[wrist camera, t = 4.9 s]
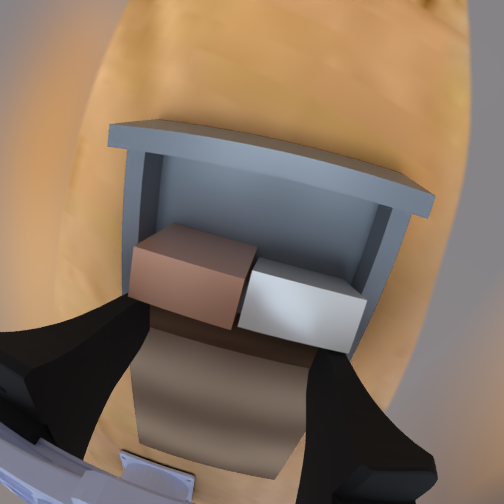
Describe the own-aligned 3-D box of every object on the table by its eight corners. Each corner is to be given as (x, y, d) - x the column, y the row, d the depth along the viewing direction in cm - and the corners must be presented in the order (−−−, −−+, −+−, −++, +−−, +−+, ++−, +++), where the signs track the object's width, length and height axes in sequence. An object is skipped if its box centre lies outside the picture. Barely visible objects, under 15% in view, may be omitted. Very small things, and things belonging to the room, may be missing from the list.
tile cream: (348, 353, 11) (367, 300, 10) (237, 326, 11) (252, 270, 11) (331, 320, 15) (344, 279, 14) (248, 298, 15) (259, 256, 15)
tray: (344, 331, 16) (350, 386, 13) (143, 281, 17) (107, 323, 13) (401, 173, 13) (435, 195, 9) (157, 119, 13) (109, 124, 10)
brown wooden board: (278, 447, 21) (274, 479, 19) (153, 414, 22) (139, 443, 19) (333, 334, 16) (337, 373, 14) (152, 288, 17) (127, 319, 14)
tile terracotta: (230, 330, 11) (244, 279, 11) (128, 296, 11) (133, 246, 11) (246, 287, 15) (257, 246, 14) (166, 263, 15) (173, 223, 15)
